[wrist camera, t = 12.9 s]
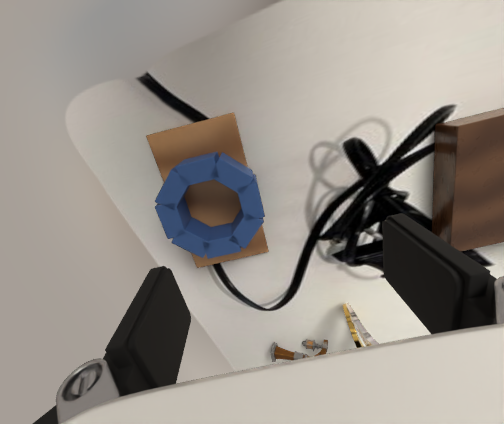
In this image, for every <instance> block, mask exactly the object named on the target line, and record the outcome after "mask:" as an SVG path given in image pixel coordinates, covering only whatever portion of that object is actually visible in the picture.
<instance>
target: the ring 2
mask: <svg viewBox="0 0 504 424" xmlns="http://www.w3.org/2000/svg"><path fill="white" fill-rule="evenodd" d="M343 309H344V313H345V316H346V319H347V322H348V325H349V328H350V331H351V334H352V337H353V339H354V342H355V344H356V347H357V348H360V347H364V346H363V344H362V343H361V341H360V339H359V337H358V335H357V333H356V330H355V328H354V325H355V327H356V329H357V330H358V332H359V334H360V336H361V338H362V340H363V342H364V344H365V345H366V346H371V345H376V344H379V343H378V342H377V341H375V340H374V339H373V338H372V336H371V335H370V334H369V333H368V332H367V330H366V329H365V328H364V326H363V325H362V323H361V322H360V320H359V319H358V317H357V316H356V314H355V312H354V310H353V309H352V307H351V305H350V304H349V302H348V303H345V304H343ZM352 321H353V322H352ZM353 323H354V325H353Z"/></svg>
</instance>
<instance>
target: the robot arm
mask: <svg viewBox="0 0 504 424" xmlns="http://www.w3.org/2000/svg"><path fill="white" fill-rule="evenodd" d="M382 227H383V263H384V276H385V278H386V280H387V281H388V282H389V284H390V285H391V286H392V287H393V288H394V290H395V291H396V292H397V293H398V294H399V296H400V297H401V298H402V299H403V300H404V302H405V303H406V304H407V305H408V306H409V308H410V309H411V310H412V311H413V312H414V314H415V315H416V316H417V317H418V318H419V320H420V321H421V322H422V323H423V324H424V326H425V327H426V328H427V329H428V330H429V332H430V333H431V335H425V336H419V337H414V338H408V339H403V340H398V341H392V342H387V343H382V344H376V345H371V346H366V347H360V348H355V349H350V350H344V351H339V352H334V353H329V354H324V355H318V356H313V357H308V358H303V359H298V360H292V361H287V362H282V363H277V364H272V365H267V366H262V367H256V368H251V369H246V370H241V371H236V372H232V373H226V374H222V375H217V376H211V377H206V378H201V379H196V380H191V381H187V382H182V383H177V384H176V380H177V376H178V372H179V368H180V364H181V360H182V356H183V351H184V347H185V343H186V339H187V335H188V330H189V326H190V322H191V316H190V312H189V310H188V307H187V305H186V303H185V300H184V298H183V296H182V294H181V291H180V289H179V287H178V284H177V282H176V280H175V278H174V275H173V273H172V271H171V269H169V268H168V269H167V268H166V267H165V266H162V267H158V268H153V269H151V270H150V271H149V273H148V275H147V277H146V278H145V280H144V282H143V284H142V286H141V287H140V289H139V291H138V293H137V294H136V296H135V298H134V299H133V301H132V303H131V305H130V307H129V308H128V310H127V312H126V314H125V315H124V317H123V319H122V321H121V323H120V324H119V326H118V328H117V330H116V332H115V333H114V335H113V337H112V338H111V340H110V342H109V344H108V345H107V348H106V349H105V351H106V354H105V356H104V358H103V359H93V360H91V361H88V362H86V363H84V364H83V365H81V366H79V367H78V368H77V369H76V370H74V371H73V372H72V373H71V374H70V375H69V376H68V377H67V378H66V379H65V380H64V382H63V383H62V385H61V386H60V388H59V390H58V392H57V395H56V406H54V407H53V408H52V409H51V410H49V411H48V412H47V413H46V414H45V415H43V416H42V417H41V418H39V419H38V420H37V421H36V422H34V423H33V424H504V276H503V277H499V278H498V279H496V278H495V277H493V276H492V275H490V271H489V270H488V269H486V268H485V267H483V266H482V265H480V264H479V263H477V262H476V261H474V260H473V259H471V258H469V257H468V256H466V255H465V254H463V253H462V252H460V251H459V250H457V249H456V248H454V247H453V246H451V245H450V244H448V243H447V242H445V241H444V240H442V239H441V238H439V237H438V236H436V235H435V234H433V233H432V232H430V231H429V230H427V229H426V228H424V227H423V226H421V225H420V224H418V223H417V222H415V221H414V220H412V219H411V218H409V217H407V216H406V215H404V214H397V215H392V216H388V217H387V218H386V220H385V221H383V224H382Z"/></svg>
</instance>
